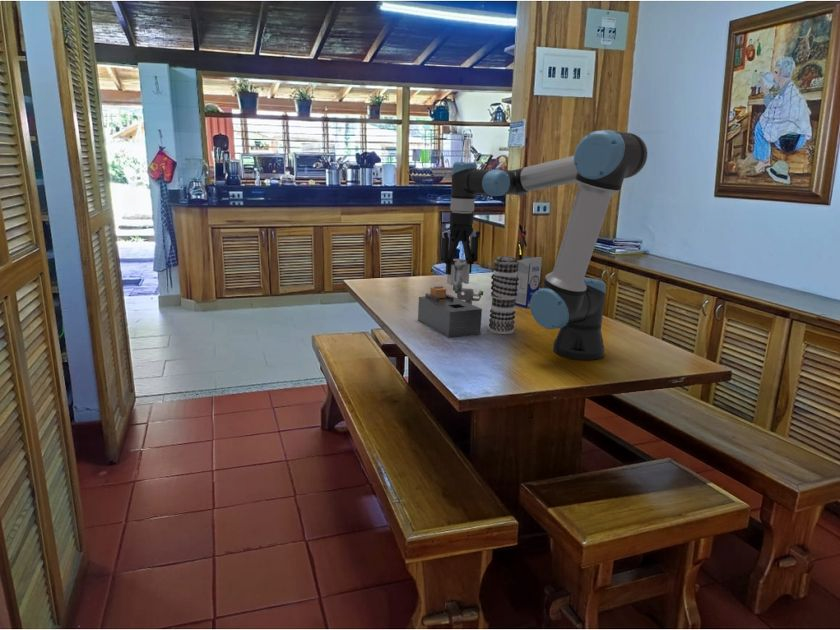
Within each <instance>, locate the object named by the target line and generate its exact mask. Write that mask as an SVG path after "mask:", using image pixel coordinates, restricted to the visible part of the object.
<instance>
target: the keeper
mask: <svg viewBox="0 0 840 630" xmlns="http://www.w3.org/2000/svg"><path fill="white" fill-rule="evenodd" d="M429 292H430V293H429V294H430V295H433V296H435V297H437V298H446V294H447V289H446V288H444V286H443V285H439V286H432V287H430V291H429Z"/></svg>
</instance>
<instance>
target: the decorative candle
mask: <svg viewBox="0 0 840 630" xmlns="http://www.w3.org/2000/svg"><path fill="white" fill-rule="evenodd" d="M517 261H518V260H517V258H516V257H515V256H506V255H502V256H501V255H500V256H498V257H497V258H496V259H495V260H494V261H493V262H494V266H493V267H494V270H493V273H492V274H491V278H490V279H491V286H490V289H491V292H490V297H491V299H492V300H491V305H490V309H489V313H490V314H489V317H490V318H489V319H488V322H489V324H488V331H489V332H491V333H494V334H498V335H510V334H512V333H514V332H515V330H514V329H515V320H514V319H515V318H516V315H515V314H516V311H515V310H516V309H515V307H516V305H514V303H515V299H516V296H517V293H515V291H518V289H517V288H515V286H516V285H518V283H517V282H516V281H518V280H519V278H517V272H518V271H517V266H518V263H519V262H517Z"/></svg>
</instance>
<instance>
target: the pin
mask: <svg viewBox="0 0 840 630" xmlns="http://www.w3.org/2000/svg"><path fill="white" fill-rule="evenodd" d="M452 265H454V279H453V285H452V291H453V292H455V291H462V288H463V267H466V266H467V260H465V259H463V258H454V259H453V262H452Z"/></svg>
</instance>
